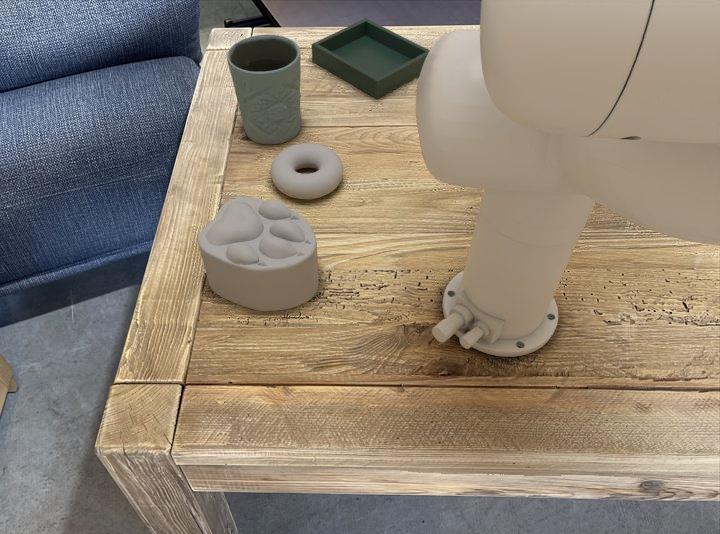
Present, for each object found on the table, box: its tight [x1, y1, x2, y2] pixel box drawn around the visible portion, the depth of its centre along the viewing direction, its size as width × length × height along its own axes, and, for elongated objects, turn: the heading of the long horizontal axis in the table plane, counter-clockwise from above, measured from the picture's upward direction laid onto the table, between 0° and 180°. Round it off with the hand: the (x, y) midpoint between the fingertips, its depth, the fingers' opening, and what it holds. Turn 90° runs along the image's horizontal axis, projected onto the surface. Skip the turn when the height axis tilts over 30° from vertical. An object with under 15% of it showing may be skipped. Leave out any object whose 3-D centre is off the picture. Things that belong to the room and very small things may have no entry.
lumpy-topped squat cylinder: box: [197, 196, 319, 312], centre depth 69 cm, size 10×13×9 cm
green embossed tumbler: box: [226, 34, 302, 146], centre depth 86 cm, size 10×10×12 cm
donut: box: [269, 142, 344, 200], centre depth 82 cm, size 10×4×10 cm
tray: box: [311, 17, 431, 100], centre depth 100 cm, size 16×13×3 cm
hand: (515, 100), depth 69 cm, fingers closed on cup, 6 cm apart
